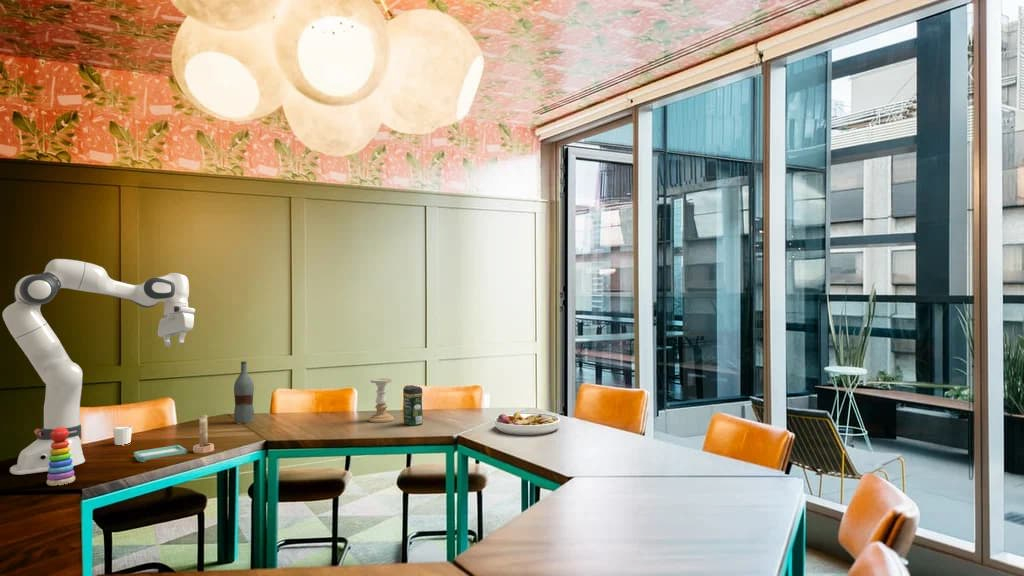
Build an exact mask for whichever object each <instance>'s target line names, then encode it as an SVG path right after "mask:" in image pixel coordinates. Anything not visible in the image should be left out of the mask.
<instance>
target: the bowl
mask: <svg viewBox="0 0 1024 576" xmlns="http://www.w3.org/2000/svg"><path fill="white" fill-rule="evenodd" d="M560 424H561V419H560V417H559V416H557V415H553V414H548V413H539V412H515V413H507V414H504V413H502V414H499V416H496V417H495V418H494V425H495V428H497V430H498V431H500V432H502V433H504V434H508V435H515V436H516V435H517V436H536V435H538V436H539V435H546V434H549V433H553V432H554V431H556V430H558V428H559V426H560Z"/></svg>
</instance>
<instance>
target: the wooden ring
mask: <svg viewBox="0 0 1024 576" xmlns="http://www.w3.org/2000/svg"><path fill="white" fill-rule="evenodd" d="M213 451H215V444H214V443H212V442H209V443H208V442H207V446H205V447H200V443H198V444H195V445H193V447H192V452H193V453H194V454H205V453H210V452H213Z"/></svg>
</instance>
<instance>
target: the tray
mask: <svg viewBox="0 0 1024 576" xmlns="http://www.w3.org/2000/svg"><path fill="white" fill-rule="evenodd" d="M185 454H188V449H187V448H185V447H183V446H181V445H179V444H177V445H170V446H164V447H156V448H151V449H144V450H138V451H134V452H133V458H134V457H135V458H136V459H135V458H134V459H135V460H136V461H138V462H139V461H140V462H143V463H147V462H146V461H149V460H154V459H160V458H167V457H173V456H179V455H185ZM140 462H139V463H140Z"/></svg>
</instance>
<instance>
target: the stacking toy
mask: <svg viewBox="0 0 1024 576" xmlns="http://www.w3.org/2000/svg"><path fill="white" fill-rule="evenodd" d="M68 435H69V432H68V430H67V429H66V428H64V427H58V428H55V429H54V430H53V431H52V432H51V435H50V437H51V439H52V440H53V441H54V442H53V443H52V444H51V448H53V449H51V450H50V454H51V455H50V457H49V459H50V460H51V461H50V462H49V466H50V467H49V468H48V471H47V473H48V474H47V475H46V476H47V477H46V478H47V480H46V484H47V485H48V486H51V487H56V486H57V485H59V486H64V484H65V485H68V483H69V484H71V483H74V482H75V480H76V476H75V470H74V466H73V464H71V463H72V459H71V458H70V457H71V454H70V453H69V451H70V448H69V447H67V446H68V445H69V442H68V441H65V440H66V439H67V438H68Z"/></svg>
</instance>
